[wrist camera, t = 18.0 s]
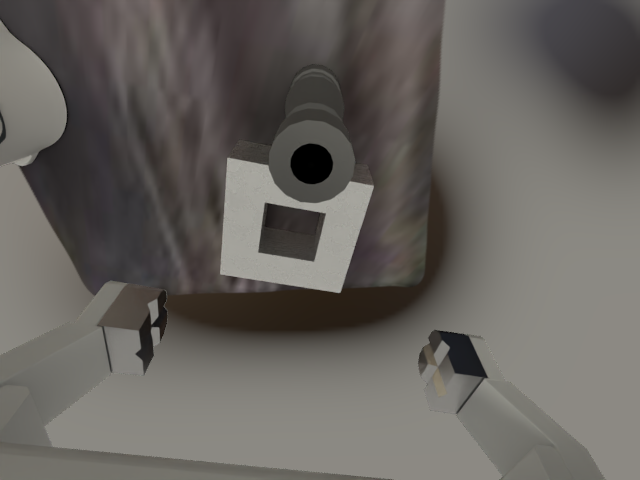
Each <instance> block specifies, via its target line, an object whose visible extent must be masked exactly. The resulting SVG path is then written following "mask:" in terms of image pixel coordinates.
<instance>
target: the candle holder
mask: <svg viewBox="0 0 640 480" xmlns="http://www.w3.org/2000/svg"><path fill="white" fill-rule="evenodd" d="M343 114H344V103H343V99H342V95H341V90H340V86H339V82H338V79H337V78H336V76H335V75H334V73H333V72H332V71H331V70H330V69H328V68H326V67H325V66H323V65H315V64H312V65H309V66H306V67H303V68H302V69H301V70H300V71H299V72H298V73H297V74H296V75H295V77H294V80H293V82H292V84H291V87H290V91H289V93H288V96H287V98H286V100H285V115H286V118H285V120H284V121H283V122H282V123H281V124H280V126H279V129H278V131H277V133H276V135H275V137H274V140H273V143H272V145H271V148H270V151H269V171H270V173H271V176H272V178H273V181H274V183H275V184H276V185H277V186H278V188H279V189H280V190H281V191H282V192H283V193H284V194H285V195H287V196H289V197H291V198H293V199H295V200H297V201H299V202H306V203H320V202H323V201H327V200H331V199H333V198H334V197H335V196H337V195H338V194H339V193H341V192H342V191H344V190H345V188H346V186H347V185H348V183H349V182H350V180H351V178H352V177H353V172H354V166H355V157H354V153H353V149H352V145H351V141H350V137H349V133H348V130H347V129H346V127H345V126H344V125H343V121H342V119H343Z"/></svg>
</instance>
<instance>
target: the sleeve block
mask: <svg viewBox="0 0 640 480" xmlns="http://www.w3.org/2000/svg"><path fill="white" fill-rule="evenodd" d="M270 148H271V146H269V145H264V144H259V143H254V142H249V141H244V140H238V142H237V143H236V145H235V147H234V148H233V150H232V151H231V153H230V154H229V156H228V158H227V174H226V190H225V206H224V222H223V238H222V254H221V270H220V274H222V275H228V276H234V277H241V278H247V279H254V280H260V281H267V282H273V283H279V284H286V285H292V286H299V287H305V288H311V289H318V290H324V291H332V292H337V293H340V292H341V289H342V286H343V282H344V279H345V276H346V273H347V270H348V267H349V264H350V260H351V257H352V254H353V251H354V248H355V245H356V241H357V238H358V235H359V232H360V229H361V226H362V222H363V219H364V216H365V213H366V210H367V207H368V204H369V200H370V197H371V194H372V191H373V188H374V184H373V181H372V178H371V175H370V171H369V168H368V165H364V164H359V163H355V166H354V172H353V177H352V178H351V180H350V182H349V183H348V185H347V186H346V188H345V190H344V191H342V192H341V193H339V194H338V195H337V196H335V197H334V198H333V199H331V200H327V201H323V202H320V203H306V202H299V201H297V200H295V199H293V198H291V197H289V196H287V195H285V194H284V193H283V192H282V191H281V190H280V189H279V188H278V186H277V185H276V184H275V183H274V181H273V178H272V176H271V173H270V171H269V151H270ZM268 203H271V204H276V205H282V206H288V207H293V208H299V209H304V210H310V211H315V212H320V215H319V220H318V224H317V228H316V232H315V235H310V234H304V233H298V232H292V231H287V230H281V229H275V228H269V227H265V221H266V214H267V207H268Z"/></svg>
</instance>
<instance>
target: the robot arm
mask: <svg viewBox="0 0 640 480" xmlns="http://www.w3.org/2000/svg"><path fill="white" fill-rule="evenodd" d="M66 121H67V110H66V104H65V100H64V97H63V94H62V91H61V89H60V87H59V85H58V83H57V81H56V79H55V78H54V76H53V75H52V73H51V72H50V70H49V69H48V68H47V66H46V65H45V64H44V63H43V62H42V61H41V59H40V58H39V57H38V56H37V55H36V54H35V53H33V52H32V51H31V50H30V49H29V48H28V47H26V46H25V45H24V44H23V43H21V42H20V41H19V40H18V39H16V38H15V37H14V36H13V35H12V34H11V33H10V32H9V31H8V29H7V28H6V27H5V25H4V24H3V23H2V21H1V20H0V167H2V166H4V165H7V164H10V163H13V164H16V165H19V166H25V165H28V164H31V163H32V162H33V161H34V160H35V158H36V156H37V155H38V153H39V151H41V150H42V149H44V148H46V147H48V146H51V145H52V144H54V143H55V142H56V141H57V140H58V139H59V138H60V137H61V135H62V134H63V132H64V129H65V126H66ZM166 300H167V293H166V291H165V290H164V289H158V288H152V287H146V286H141V285H135V284H127V283H121V282H115V281H109V282H107V283H106V284H104V286H103V287H102V288H101V289H100V291H99V292H98V293H97V294H96V296H95V297H94V298H93V299H92V301H91V302H90V303H89V305H88V306H87V307H86V308H85V309H84V311H83V312H82V313H81V314H80V316H79V317H78V318H77V319H76V321H75V322H74V323H70V322H68V323H65V324H63V325H61V326H59V327H57V328H55V329H53V330H51V331H49V332H47V333H45V334H43V335H41V336H39V337H37V338H35V339H33V340H30V341H28V342H26V343H24V344H22V345H20V346H18V347H16V348H14V349H12V350H10V351H8V352H6V353H4V354H2V355H0V480H392V479H381V478H371V477H361V476H351V475H340V474H329V473H319V472H308V471H298V470H288V469H277V468H267V467H256V466H246V465H235V464H224V463H214V462H204V461H193V460H183V459H172V458H162V457H151V456H141V455H130V454H119V453H110V452H99V451H88V450H78V449H67V448H57V447H53V446H52V443H51V441H50V438H49V436H48V433H47V431H46V429H45V425H47V424H48V423H49V422H51V421H52V420H53V419H54V418H56V417H57V416H58V415H59V414H61V413H62V412H63V411H65V410H66V409H67V408H69V407H70V406H71V405H72V404H74V403H75V402H76V401H78V400H79V399H80V398H81V397H83V396H84V395H85V394H87V393H88V392H89V391H91V390H92V389H93V388H94V387H96V386H97V385H98V384H99V383H101V382H102V381H103V380H105V379H106V378H107V377H109V376H110V375H111V373H119V374H130V375H141V376H144V375H145V373H146V371H147V369H148V366H149V364H150V362H151V360H152V358H153V356H154V350H153V347H154V346H156V345H157V344H159V343H160V342H161V340H162V337H163V335H164V332H165V329H166V325H167V319H168V311H167V309H166V308H165V307H164V305H165V302H166ZM428 339H429V341H430V343H429V344H428V345H426V346H424V347H423V348H422V350H421V352H420V354H419V361H418V367H419V373H420V376H421V378H422V379H423V380H424V381H425V382H426V383H427V386H426V388H425V390H424V391H425V394H426V398H427V401H428V405H429V408H430V410H431V411H438V412H444V413H451V414H457V415H456V416H457V417H458V419H459V420H460V421H461V423H462V424H463V425H464V427H465V428H466V429H467V430H468V432H469V433H470V434H471V436H472V437H473V438H474V439H475V441H476V442H477V443H478V445H479V446H480V447H481V449H482V450H483V451H484V452H485V454H486V455H487V456H488V458H489V459H490V460H491V462H492V463H493V464H494V465H495V467H496V468H497V469H498V471H499V472H500V473H501V474H502V476H503V477H502V478H501V479H499V480H605V478H604V477H603V475H602V473H601V472H600V470H599V468H598V467H597V465H596V463H595V462H594V460H593V458H592V457H591V455H590V454H589V452H588V450H587V449H586V448H585V447H584V446H583V445H582V444H580V443H579V442H578V441H577V440H576V439H575V438H574V437H572V436H571V435H570V434H569V433H568V432H567V431H565V430H564V429H563V428H562V427H561V426H560V425H559V424H558V423H556V422H555V421H554V420H553V419H552V418H551V417H550V416H549V415H547V414H546V413H545V412H544V411H543V410H542V409H541V408H539V407H538V406H537V405H536V404H535V403H534V402H533V401H531V400H530V399H529V398H528V397H527V396H526V395H525V394H524V393H522V392H521V391H520V390H519V389H518V388H517V387H516V386H515V385H513V384H512V383H511V382H508V381H505V379H504V377H503V375H502V373H501V371H500V369H499V367H498V365H497V363H496V361H495V359H494V357H493V355H492V353H491V351H490V349H489V347H488V345H487V344H486V342H485V340H484V339H483V338H482V337H481V336H477V335H470V334H462V333H454V332H448V331H440V330H434V331H432V332H431V334H430V336H429V337H428Z"/></svg>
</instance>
